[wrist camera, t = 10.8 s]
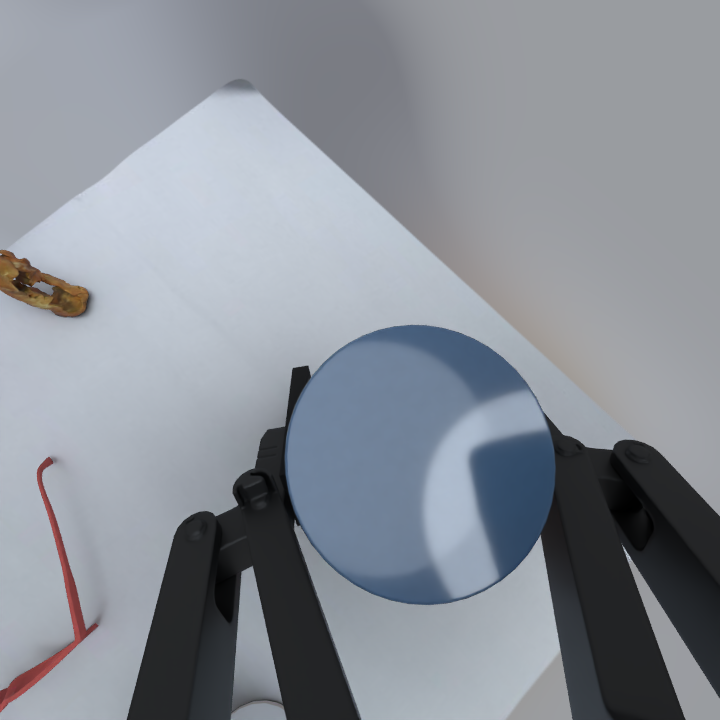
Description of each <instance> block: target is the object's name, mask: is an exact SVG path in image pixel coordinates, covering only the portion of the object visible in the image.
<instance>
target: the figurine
mask: <svg viewBox="0 0 720 720" xmlns="http://www.w3.org/2000/svg"><path fill="white" fill-rule="evenodd" d="M0 253H1V254H2V255H1V256H0V290H1V291H2V292H4V293H5V294H7V295H9V296H11V297H13V298H15V299H17V300H19V301H23V302H25V303H27V304H29V305H31V306H34V307H39V308H41V309H48V310H51V311H52V312H54V313H55V314H56V315H58V316H63V317H67V316H71V317H74V316H78V315H79V314H81V313H83V312H84V311H85V309H86V305H87V300H88V297H89V294H88V291H87V290H86V289H85V288H83V287H80V286H72V285H70V284H69V283H66V282H65V281H64V280H61V279H58V278H56V277H53V276H51V275H49V274H45V273H41V272H40V271H39V270H38V269H36V268H34V267H32V266H31V265H30V262H29V261H28V260H27V259H26V258H23V259H17V258H16V257H15V255H14V253H12V252H10V251H6V250H0ZM14 278H15V279H16V280H13V279H14ZM40 281H42V282H45V283H46V284H49V285H53V286H55V287H53V288H52V289H53V291H54V292H53V294H52V295H51V296H50V295H48V294H46V293H45V292H42V291H40V290H39V289H38V288H34V287H32V286H33V285H34V284H35V283H36V282H39V283H40ZM20 282H21V283H22V284H21V283H20ZM24 284H27V285H29V286H31V287H27V286H26V285H24Z"/></svg>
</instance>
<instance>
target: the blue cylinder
mask: <svg viewBox="0 0 720 720" xmlns="http://www.w3.org/2000/svg"><path fill="white" fill-rule="evenodd" d="M555 471H556V465H555V454H554V446H553V442H552V437H551V432H550V429H549V426H548V423H547V420H546V418H545V415H544V412H543V410H542V408H541V406H540V404H539V402H538V400H537V398H536V396H535V395H534V393H533V392H532V390H531V389H530V387H529V386H528V384H527V383H526V381H525V380H524V379H523V378H522V377H521V376H520V374H519V373H518V372H517V371H516V370H515V369H514V368H513V367H512V366H511V365H510V364H509V363H508V362H507V361H506V360H505V359H504V358H503V357H501V356H500V355H499V354H497V353H496V352H495V351H493V350H492V349H491V348H489V347H488V346H486V345H484V344H482V343H480V342H479V341H477V340H475V339H473V338H471V337H468V336H466V335H464V334H461V333H459V332H455V331H452V330H448V329H445V328H440V327H434V326H427V325H404V326H394V327H390V328H385V329H381V330H377V331H374V332H372V333H369V334H366V335H363V336H361V337H359V338H357V339H355V340H353V341H352V342H350V343H348V344H347V345H345V346H344V347H342V348H341V349H339V350H338V351H336V352H335V353H334V354H333V355H332V356H331V357H329V358H328V359H327V360H326V361H325V362H324V363H323V364H322V365H321V366H320V367H319V368H318V370H317V371H316V372H315V373H314V374H313V375H312V377H311V378H310V380H309V381H308V383H307V384H306V386H305V387H304V389H303V391H302V393H301V395H300V397H299V399H298V401H297V403H296V405H295V408H294V410H293V413H292V416H291V419H290V422H289V427H288V432H287V436H286V446H285V475H286V481H287V487H288V493H289V496H290V500H291V503H292V506H293V509H294V512H295V514H296V517H297V519H298V521H299V523H300V525H301V528H302V529H303V531H304V533H305V534H306V536H307V538H308V539H309V541H310V543H311V544H312V546H313V547H314V548H315V549H316V550H317V552H318V553H319V554H320V555H321V557H322V558H323V559H324V560H325V561H326V562H327V563H328V564H329V565H330V566H331V567H332V568H333V569H334V570H335V571H336V572H338V573H339V574H340V575H342V576H343V577H344V578H346V579H347V580H348V581H350V582H351V583H353V584H354V585H356V586H358V587H360V588H362V589H364V590H365V591H367V592H369V593H371V594H374V595H377V596H379V597H382V598H385V599H388V600H391V601H396V602H401V603H406V604H417V605H434V604H445V603H451V602H455V601H459V600H462V599H466V598H469V597H471V596H474V595H476V594H478V593H481V592H483V591H485V590H487V589H488V588H490V587H492V586H493V585H495V584H497V583H498V582H500V581H501V580H503V579H504V578H505V577H506V576H507V575H508V574H510V573H511V572H512V571H513V570H514V569H516V567H517V566H518V565H519V564H520V563H521V562H522V561H523V560H524V558H525V557H526V556H527V555H528V554H529V552H530V551H531V549H532V548H533V546H534V544H535V543H536V541H537V540H538V538H539V536H540V534H541V532H542V530H543V528H544V525H545V523H546V521H547V518H548V515H549V511H550V508H551V505H552V500H553V494H554V488H555Z"/></svg>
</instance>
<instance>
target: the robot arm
mask: <svg viewBox="0 0 720 720" xmlns="http://www.w3.org/2000/svg"><path fill="white" fill-rule="evenodd" d="M310 378H311V375H310V371H309V367H308V366H302V367H296V368H293V370H292V378H291V386H290V394H289V401H288V409H287V417H286V425H285V427H281V428H274V429H268V430H267V431H266V433H265V434H264V435H263V437H262V438H261V441H260V446H259V451H258V456H257V461H256V466H255V469H251V470H249V471H247V472H245V473H243V474H242V475H241V476H240V477H239V478H238V479H237V480H236V482H235V484H234V486H233V495H234V497H235V499H236V501H237V503H238V506H237V507H235V508H233V509H231V510H229V511H227V512H225V513H222V514H220V515H218V516H216V517H215V515H214V514H213V513H211V512H208V511H203V512H198V513H195V514H193V515H191V516H190V517H188V518H187V519H185V520H184V521H183V522H182V523H181V525H180V526H179V527H178V528H177V531H176V533H175V535H174V539H173V542H172V546H171V550H170V554H169V558H168V562H167V566H166V570H165V573H164V577H163V581H162V585H161V589H160V593H159V597H158V601H157V604H156V608H155V612H154V616H153V620H152V624H151V628H150V632H149V635H148V639H147V643H146V647H145V651H144V655H143V659H142V663H141V666H140V670H139V674H138V678H137V682H136V686H135V690H134V694H133V697H132V701H131V705H130V709H129V713H128V717H127V720H231V708H232V694H233V681H234V667H235V653H236V640H237V626H238V612H239V598H240V585H241V571H243V570H245V569H247V568H249V567H251V566H253V568H254V573H255V578H256V582H257V587H258V591H259V596H260V600H261V605H262V610H263V614H264V619H265V623H266V628H267V633H268V637H269V642H270V646H271V651H272V655H273V660H274V665H275V669H276V674H277V678H278V683H279V688H280V692H281V697H282V701H283V706H284V711H285V715H286V720H361V717H360V714H359V711H358V708H357V706H356V703H355V700H354V697H353V694H352V692H351V689H350V686H349V683H348V680H347V677H346V675H345V672H344V669H343V666H342V663H341V661H340V658H339V655H338V652H337V649H336V647H335V644H334V641H333V638H332V635H331V632H330V630H329V627H328V624H327V621H326V618H325V616H324V613H323V610H322V607H321V604H320V601H319V599H318V596H317V593H316V590H315V587H314V585H313V582H312V579H311V576H310V573H309V571H308V568H307V565H306V562H305V559H304V556H303V554H302V551H301V548H300V545H299V542H298V540H297V537H296V534H295V532H294V521H295V520H296V523H297V526H300V523H299V521H298V519H297V517H296V514H295V512H294V509H293V506H292V503H291V500H290V496H289V493H288V487H287V481H286V475H285V446H286V436H287V432H288V427H289V422H290V419H291V416H292V413H293V410H294V408H295V405H296V403H297V401H298V399H299V397H300V395H301V393H302V391H303V389H304V387H305V386H306V384H307V383H308V381H309V380H310ZM544 415H545V418H546V420H547V423H548V426H549V429H550V432H551V437H552V442H553V446H554V454H555V465H556V471H555V488H554V494H553V500H552V505H551V508H550V511H549V515H548V518H547V521H546V523H545V525H544V528H543V530H542V532H541V539H542V545H543V551H544V556H545V562H546V568H547V574H548V580H549V585H550V591H551V597H552V603H553V609H554V614H555V620H556V626H557V632H558V638H559V643H560V649H561V655H562V661H563V666H564V672H565V678H566V684H567V689H568V695H569V701H570V707H571V712H572V719H573V720H685V717H684V715H683V712H682V709H681V706H680V704H679V701H678V698H677V695H676V693H675V690H674V687H673V685H672V682H671V679H670V676H669V674H668V671H667V668H666V665H665V662H664V660H663V657H662V654H661V651H660V649H659V646H658V643H657V640H656V638H655V635H654V632H653V630H652V627H651V624H650V621H649V618H648V616H647V613H646V610H645V607H644V605H643V602H642V599H641V596H640V594H639V591H638V588H637V585H636V583H635V580H634V577H633V574H632V572H631V569H630V566H629V563H628V560H627V558H626V555H625V552H624V549H623V547H622V545H623V546H624V548H625V549H626V551H627V553H628V554H629V556H630V557H631V559H632V560H633V562H634V564H635V565H636V567H637V568H638V570H639V572H640V573H641V574H642V576H643V578H644V579H645V581H646V583H647V584H648V586H649V587H650V589H651V591H652V592H653V594H654V595H655V597H656V598H657V600H658V602H659V603H660V605H661V606H662V608H663V609H664V611H665V613H666V614H667V616H668V617H669V619H670V621H671V622H672V624H673V625H674V627H675V628H676V630H677V632H678V633H679V635H680V636H681V638H682V640H683V641H684V643H685V644H686V646H687V647H688V649H689V650H690V652H691V654H692V655H693V657H694V658H695V660H696V662H697V663H698V665H699V666H700V668H701V670H702V671H703V673H704V674H705V676H706V677H707V679H708V681H709V682H710V684H711V685H712V687H713V688H714V690H715V691H716V693H717V695H718V696H719V698H720V516H719V515H718V514H717V513H716V512H715V511H714V510H713V509H712V508H711V507H710V506H709V505H708V504H707V503H706V502H705V500H704V499H703V498H702V497H701V496H700V495H699V494H698V493H697V492H696V491H695V490H694V489H693V488H692V487H691V486H690V485H689V483H688V482H687V481H686V480H685V479H684V478H683V477H682V476H681V475H680V474H679V473H678V472H677V471H676V470H675V468H674V467H673V466H672V465H671V464H670V463H669V462H668V461H667V460H666V459H665V458H664V457H663V456H662V455H661V454H660V453H659V452H658V451H657V450H656V449H654V448H653V447H651V446H649V445H647V444H645V443H642V442H639V441H635V440H622V441H618V442H617V443H616V444H615V445H614V448H613V450H607V449H595V448H587V447H585V446H584V445H583V444H582V443H581V442H580V441H578V440H577V439H574V438H572V437H570V436H565V435H563V434H562V433H561V432H560V431H559V430H558V428H557V427H556V426H555V425H554V424H553V423H552V421H551V420H550V419H549V418H548V417H547V415H546V414H545V413H544ZM621 543H622V544H621Z"/></svg>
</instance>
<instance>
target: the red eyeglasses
mask: <svg viewBox="0 0 720 720" xmlns="http://www.w3.org/2000/svg"><path fill="white" fill-rule="evenodd" d="M51 464H53V461H52V460H51V458H50V457H48V458H47V459H46V460H45V461H44V462H43V463H42V464H41V465H40V466H39V468H38V470H37V481H38V485H39V489H40V492H41V495H42V498H43V501H44V504H45V507H46V510H47V513H48V516H49V520H50V523H51V527H52V530H53V534H54V538H55V542H56V546H57V550H58V554H59V558H60V562H61V566H62V570H63V575H64V581H65V588H66V593H67V598H68V603H69V608H70V613H71V618H72V623H73V629H74V635H75V641H74V642H72V643H71V644H70V645H68V646H67V647H66V648H64V649H63V650H61V651H60V652H58V653H57V654H55V655H53V656H52V657H50V658H49V659H47V660H45V661H44V662H42V663H40V664H39V665H37V666H35V667H34V668H32V669H30V670H28V671H27V672H25V673H23V674H21V675H20V676H18V677H17V678H15V679H14V680H13V681H12V682H11V684H10V685H9V687H8V688H6V689H3V690H1V691H0V712H1V711H2V710H3V709H4V708H5V707H6V706H7V705H8V703H9V702H12V701H13V700H15V699H16V698H18V697H19V696H21V695H22V694H23V693H25V692H26V691H27V690H28V689H30V688H31V687H32V686H33V685H35V684H36V683H37V682H38V681H39V680H40V679H42V678H43V677H44V676H45V675H46V674H47V673H48V672H49V671H51V670H52V669H53V668H54V667H55V666H56V665H57V664H58V663H59V662H60V661H61V660H62V659H63V658H65V657H66V656H67V655H68V654H69V653H70V652H71V651H72V650H73V649H74V648H75V647H76V646H77V645H78V644H79V643H80V642H81V641H82V640H83V639H85V638H86V637H87V636H88V635H89V634H90V633H91V632H92V631H93V630H94V629H96V628H97V627H98V625H97V624H96V623H95V624H94V625H92V626H91V627H90V628H89V629H88V630H87V631H86V628H85V624H84V620H83V615H82V611H81V607H80V602H79V598H78V593H77V589H76V585H75V581H74V578H73V575H72V572H71V569H70V566H69V563H68V559H67V555H66V552H65V548H64V544H63V541H62V537H61V534H60V530H59V527H58V524H57V521H56V518H55V515H54V512H53V509H52V507H51V504H50V502H49V499H48V497H47V494H46V492H45V489H44V486H43V482H42V472H43V470H44V469H45V468H47V467H48V466H50V465H51Z"/></svg>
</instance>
